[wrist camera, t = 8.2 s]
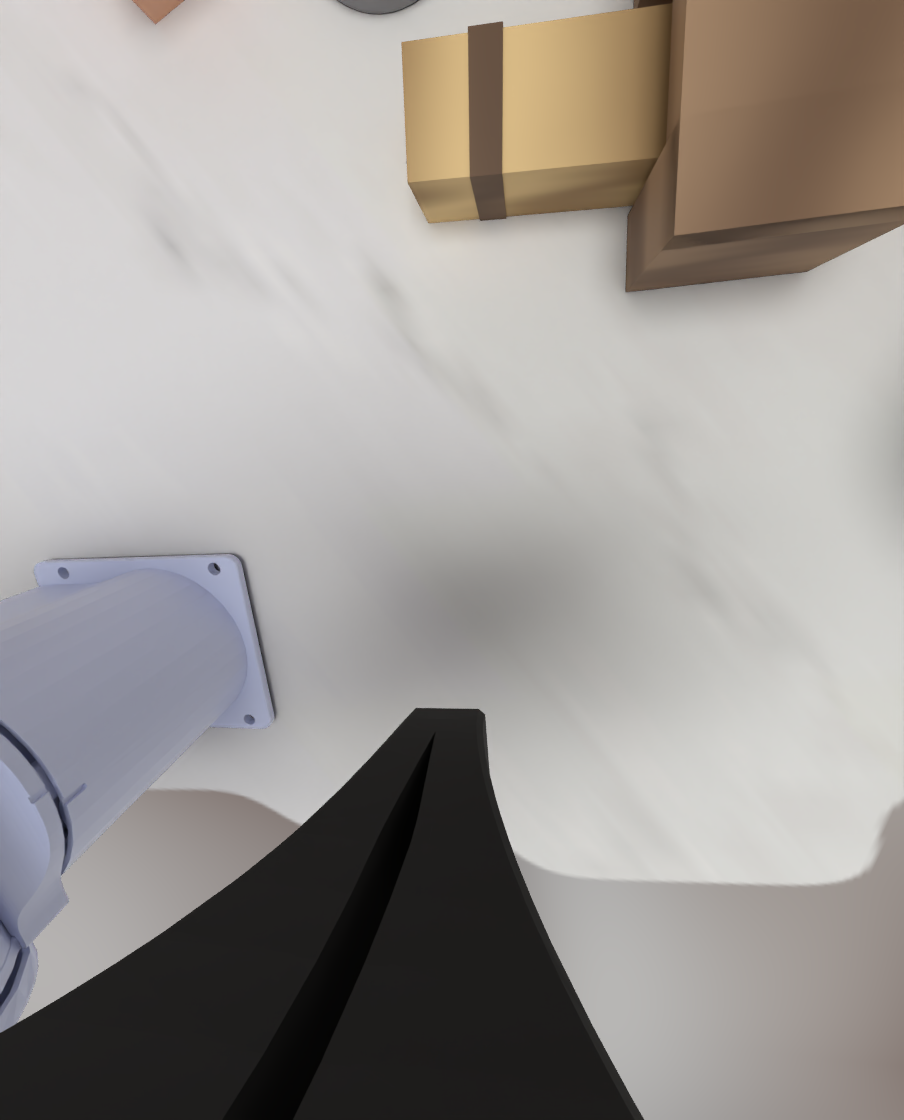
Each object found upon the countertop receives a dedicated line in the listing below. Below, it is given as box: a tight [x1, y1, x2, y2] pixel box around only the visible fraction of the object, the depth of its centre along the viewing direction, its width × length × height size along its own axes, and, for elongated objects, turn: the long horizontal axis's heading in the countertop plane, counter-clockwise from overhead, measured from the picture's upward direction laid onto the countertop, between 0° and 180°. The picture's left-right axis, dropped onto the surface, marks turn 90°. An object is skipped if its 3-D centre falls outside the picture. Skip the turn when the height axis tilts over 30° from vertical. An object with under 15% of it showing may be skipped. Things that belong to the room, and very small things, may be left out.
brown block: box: [626, 0, 904, 292], centre depth 10 cm, size 5×8×5 cm, turn 4°
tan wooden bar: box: [402, 3, 673, 223], centre depth 12 cm, size 14×3×3 cm, turn 91°
